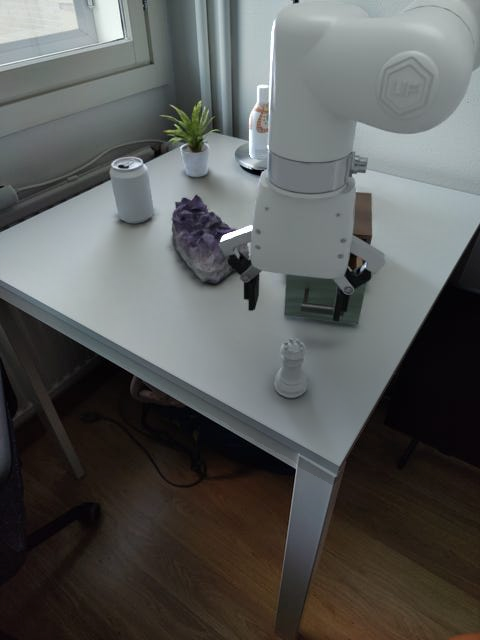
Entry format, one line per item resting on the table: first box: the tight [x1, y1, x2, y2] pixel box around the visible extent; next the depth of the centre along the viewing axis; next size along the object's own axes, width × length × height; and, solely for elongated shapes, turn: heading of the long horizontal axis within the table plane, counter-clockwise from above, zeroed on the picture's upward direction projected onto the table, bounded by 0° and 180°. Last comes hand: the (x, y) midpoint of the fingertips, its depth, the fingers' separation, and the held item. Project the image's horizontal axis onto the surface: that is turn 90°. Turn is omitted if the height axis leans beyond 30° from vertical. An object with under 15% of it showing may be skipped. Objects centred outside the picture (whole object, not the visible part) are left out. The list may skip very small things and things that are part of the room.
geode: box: [171, 194, 250, 285], centre depth 84 cm, size 20×12×10 cm, turn 33°
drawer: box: [283, 239, 368, 325], centre depth 72 cm, size 18×11×9 cm, turn 168°
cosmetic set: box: [248, 84, 270, 160], centre depth 106 cm, size 25×9×19 cm, turn 46°
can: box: [108, 156, 155, 224], centre depth 95 cm, size 8×8×12 cm
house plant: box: [160, 100, 220, 178], centre depth 111 cm, size 14×14×16 cm
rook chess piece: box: [273, 337, 308, 399], centre depth 60 cm, size 4×4×8 cm
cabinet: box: [352, 191, 373, 265], centre depth 81 cm, size 15×13×11 cm
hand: (294, 308), depth 54 cm, fingers open, 9 cm apart
